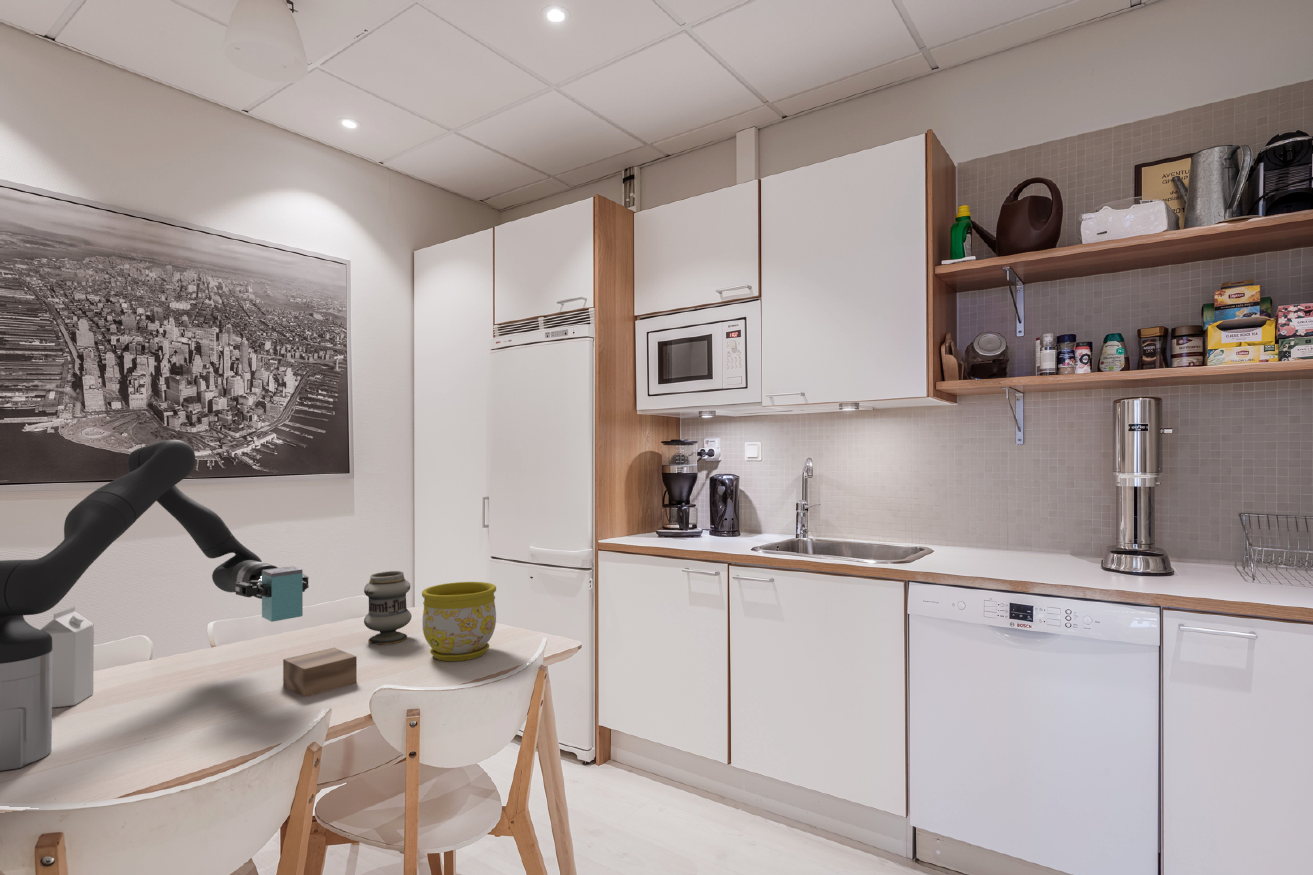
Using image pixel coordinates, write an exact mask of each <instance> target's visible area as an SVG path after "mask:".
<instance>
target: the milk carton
mask: <svg viewBox="0 0 1313 875" xmlns="http://www.w3.org/2000/svg"><path fill="white" fill-rule="evenodd" d="M94 627H95V625H94V623H93V622H92V621H90V620H89V619H87V618H86V617H84V616H83V615H82V614H80V613H78V612H77V611H76V606H72V607H69V608H65V609H63V610H60V611H57V612H56V613H53V619H52V620H50V621H49V622H48V623H47V624H46V625H44V626H43V627H41V629H39V630H42V631H45V632H47V633H49V634H50V635H51V636H52V709H53V708H60V707H62V708H63V707H69V706H70V707H72V706H76V705H77V704H79V703H81V702H82V701H84V700H86V699H87V698H89V697H91V696H92V695H93V694H94V671H95V670H94V663H95V662H94V659H95V658H94V655H95V654H94V650H95V646H94V645H95V644H94V643H95V642H94V640H95V638H94V637H95V636H94V635H95V634H94V633H95V628H94Z"/></svg>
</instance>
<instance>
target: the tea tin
mask: <svg viewBox="0 0 1313 875" xmlns="http://www.w3.org/2000/svg"><path fill="white" fill-rule="evenodd" d="M302 574H303V568H298V567H296V566H293V565H292V566H291V565H290V566H282V567H278V568H274V569H266V570H262V583H263V585H267V586H270V588H271V597H268V598H266V597H264V596H262V599H261V618H263V619H265V620H267V621H269V622H272V623H273V622H279V621H284V620H289V619H295V618H300V617H303V613H304V612H303V602H304V601H303V593H304V592H303V582H302Z"/></svg>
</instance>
